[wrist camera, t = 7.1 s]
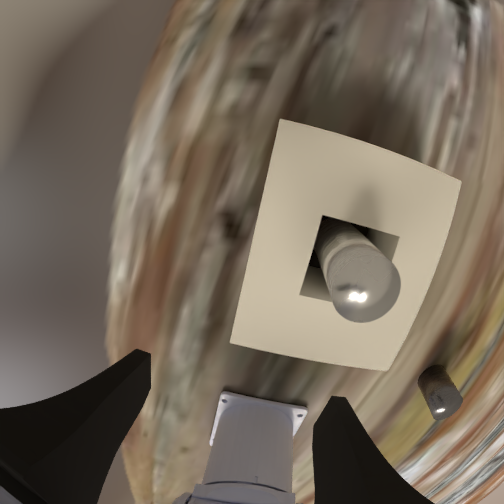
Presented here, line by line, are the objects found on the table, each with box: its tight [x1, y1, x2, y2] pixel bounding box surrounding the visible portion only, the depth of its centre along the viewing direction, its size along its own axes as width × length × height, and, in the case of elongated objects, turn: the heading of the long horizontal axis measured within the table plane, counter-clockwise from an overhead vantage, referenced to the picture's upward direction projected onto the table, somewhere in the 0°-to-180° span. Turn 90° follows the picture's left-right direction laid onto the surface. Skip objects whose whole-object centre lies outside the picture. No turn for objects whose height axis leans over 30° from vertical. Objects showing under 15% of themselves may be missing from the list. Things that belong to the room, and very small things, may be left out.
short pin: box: [418, 365, 463, 420], centre depth 19 cm, size 3×3×4 cm
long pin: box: [314, 218, 401, 323], centre depth 15 cm, size 3×3×8 cm
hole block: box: [230, 119, 462, 371], centre depth 16 cm, size 12×10×5 cm
